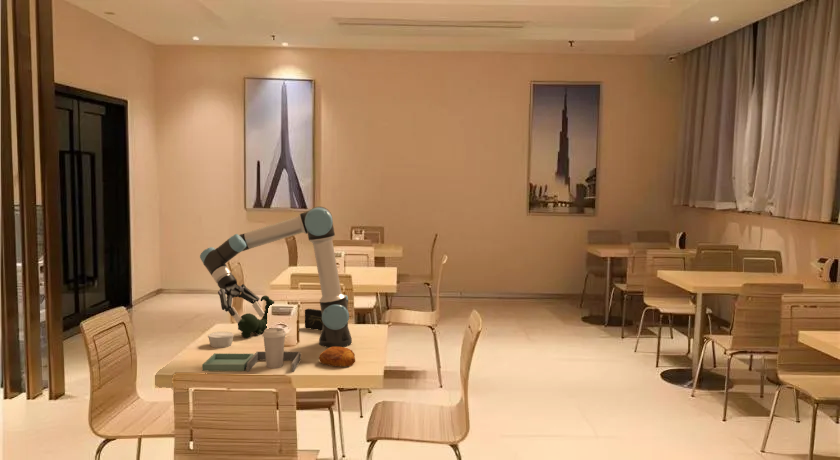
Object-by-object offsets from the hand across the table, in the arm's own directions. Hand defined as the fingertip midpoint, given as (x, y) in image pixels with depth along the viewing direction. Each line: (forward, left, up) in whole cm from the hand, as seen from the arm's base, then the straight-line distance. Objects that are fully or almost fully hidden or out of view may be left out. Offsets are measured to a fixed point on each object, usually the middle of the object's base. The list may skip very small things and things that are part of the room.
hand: (251, 318), depth 285 cm
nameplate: (-22, -57, -19) cm, 64 cm away
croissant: (-37, +2, -19) cm, 41 cm away
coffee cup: (-11, +7, -19) cm, 23 cm away
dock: (-11, +7, -18) cm, 23 cm away
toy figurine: (+9, -47, -19) cm, 52 cm away
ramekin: (+20, -26, -19) cm, 38 cm away
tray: (+8, +6, -18) cm, 21 cm away
